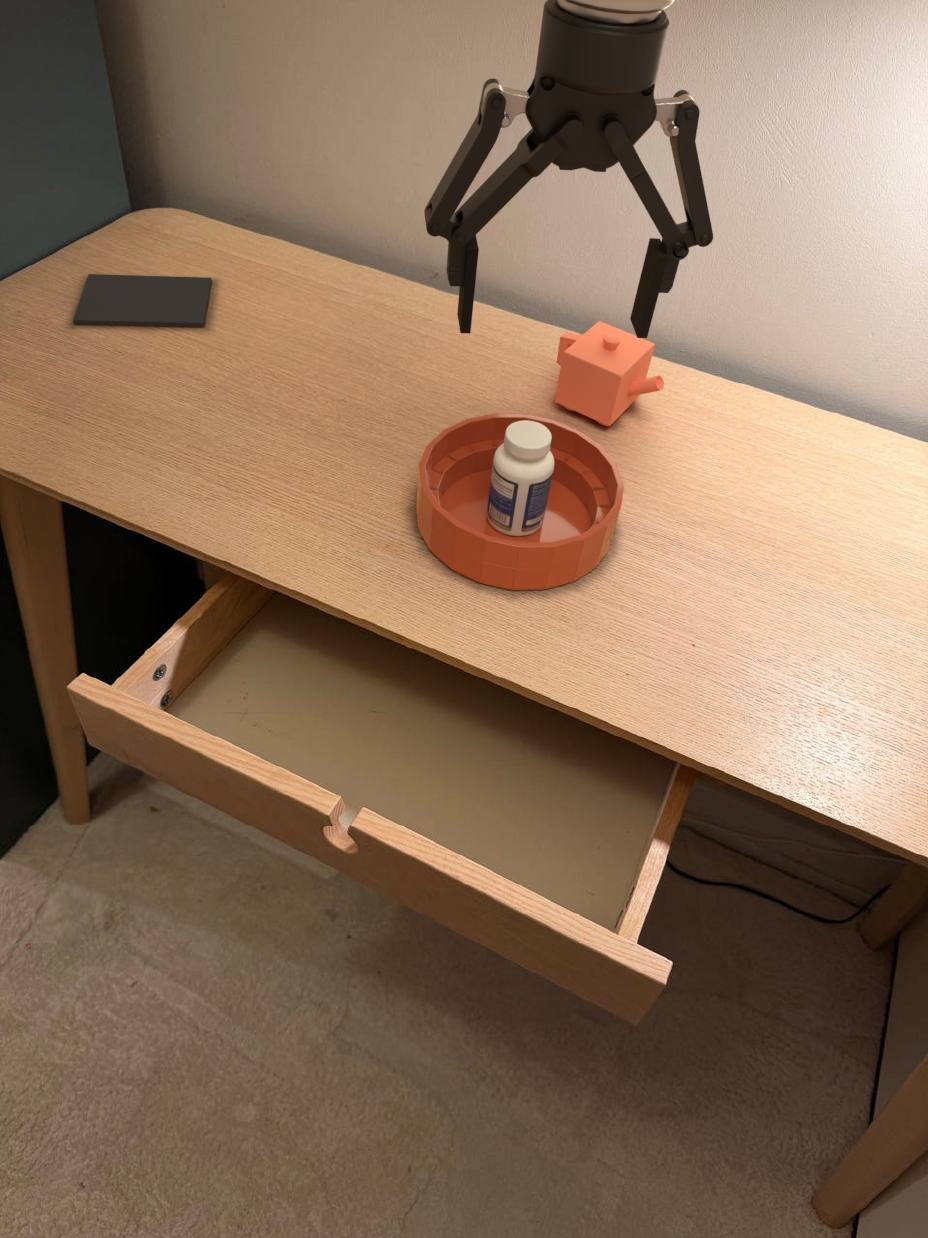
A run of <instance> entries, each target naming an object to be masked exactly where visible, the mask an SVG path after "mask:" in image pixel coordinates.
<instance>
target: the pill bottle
mask: <svg viewBox="0 0 928 1238" xmlns="http://www.w3.org/2000/svg"><path fill="white" fill-rule="evenodd" d="M551 439H552V436H551V433H550V431H549V430H548V428H546V427H545V426H544V425H542V424H540V423H538V422H534V421H529V420H523V421H517V422H514V423H512V424H510V425H509V426H508V427H507V429H506V433H505V438H504V443H503V444H502V445H500V446H499V447H498V449H497V450H496V452H495V455H494V459H493V467H492V474H491V482H490V490H489V498H488V505H487V518H488V521H489V523H490V524H491V525H492V526H493V527H494V528H495V529H496V530H498V531H499V532H501V533H503V534H506V535H510V536H526V535H530V534H532V533H534V532H536V531H537V530H538V529H539V528H540V527H541V525H542V523H543V520H544V516H545V511H546V506H547V501H548V496H549V491H550V486H551V481H552V476H553V471H554V457H553V455H552V453H551V451H550V445H551Z"/></svg>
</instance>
